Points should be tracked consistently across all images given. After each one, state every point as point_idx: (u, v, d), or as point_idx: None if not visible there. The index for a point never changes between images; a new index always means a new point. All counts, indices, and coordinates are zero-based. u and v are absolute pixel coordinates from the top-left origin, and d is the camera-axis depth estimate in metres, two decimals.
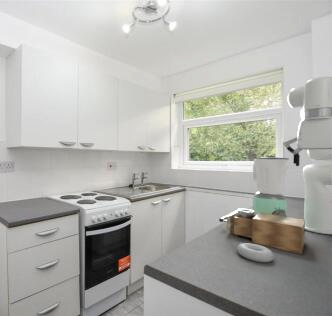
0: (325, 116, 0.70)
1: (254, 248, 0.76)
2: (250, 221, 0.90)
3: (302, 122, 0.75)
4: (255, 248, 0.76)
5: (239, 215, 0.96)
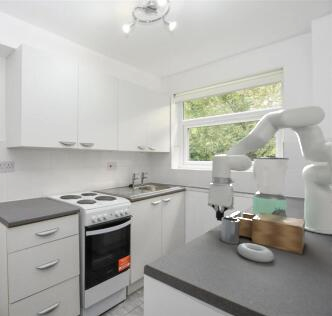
0: (222, 184, 0.99)
1: (254, 248, 0.76)
2: None
3: (210, 185, 1.04)
4: (255, 248, 0.76)
5: (235, 226, 0.86)
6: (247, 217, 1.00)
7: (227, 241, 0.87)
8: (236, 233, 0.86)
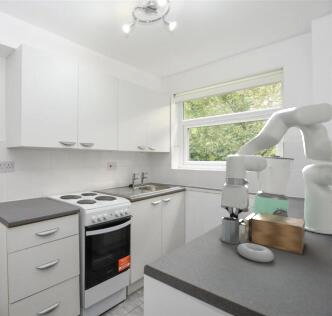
0: (237, 185, 0.95)
1: (254, 248, 0.76)
2: None
3: (224, 186, 1.00)
4: (255, 248, 0.76)
5: (235, 226, 0.86)
6: None
7: (227, 241, 0.87)
8: (236, 233, 0.86)
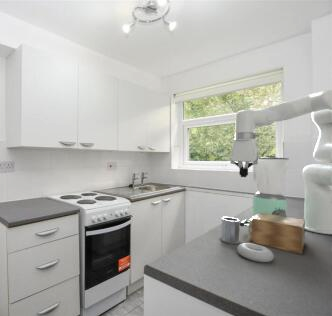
0: (247, 138, 0.98)
1: (254, 248, 0.76)
2: None
3: (233, 141, 1.03)
4: (255, 248, 0.76)
5: (235, 226, 0.86)
6: None
7: (227, 241, 0.87)
8: (236, 233, 0.86)
